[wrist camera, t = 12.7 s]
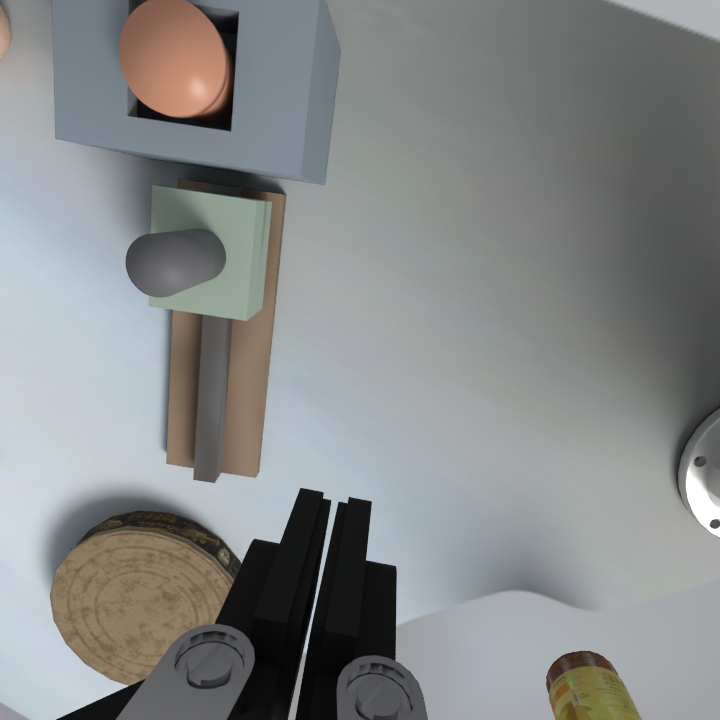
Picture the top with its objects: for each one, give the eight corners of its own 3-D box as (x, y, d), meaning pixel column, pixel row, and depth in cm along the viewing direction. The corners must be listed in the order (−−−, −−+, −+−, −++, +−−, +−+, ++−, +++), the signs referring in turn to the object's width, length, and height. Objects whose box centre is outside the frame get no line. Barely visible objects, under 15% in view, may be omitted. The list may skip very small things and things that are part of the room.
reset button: (254, 40, 26) (226, 5, 22) (246, 136, 28) (219, 121, 23) (165, 27, 27) (119, -11, 22) (162, 123, 28) (118, 107, 23)
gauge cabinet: (340, 50, 32) (320, -17, 23) (324, 184, 34) (300, 175, 25) (138, 20, 32) (32, -59, 23) (135, 156, 35) (39, 136, 25)
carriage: (272, 201, 33) (224, 199, 23) (262, 308, 35) (214, 346, 25) (179, 187, 33) (94, 179, 23) (175, 294, 35) (94, 327, 25)
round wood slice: (168, 689, 48) (154, 719, 45) (35, 579, 45) (11, 604, 42) (290, 598, 44) (283, 625, 42) (153, 472, 42) (136, 492, 39)
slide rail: (286, 194, 35) (278, 193, 32) (258, 471, 41) (250, 488, 38) (183, 179, 35) (167, 177, 32) (171, 457, 41) (157, 474, 38)
